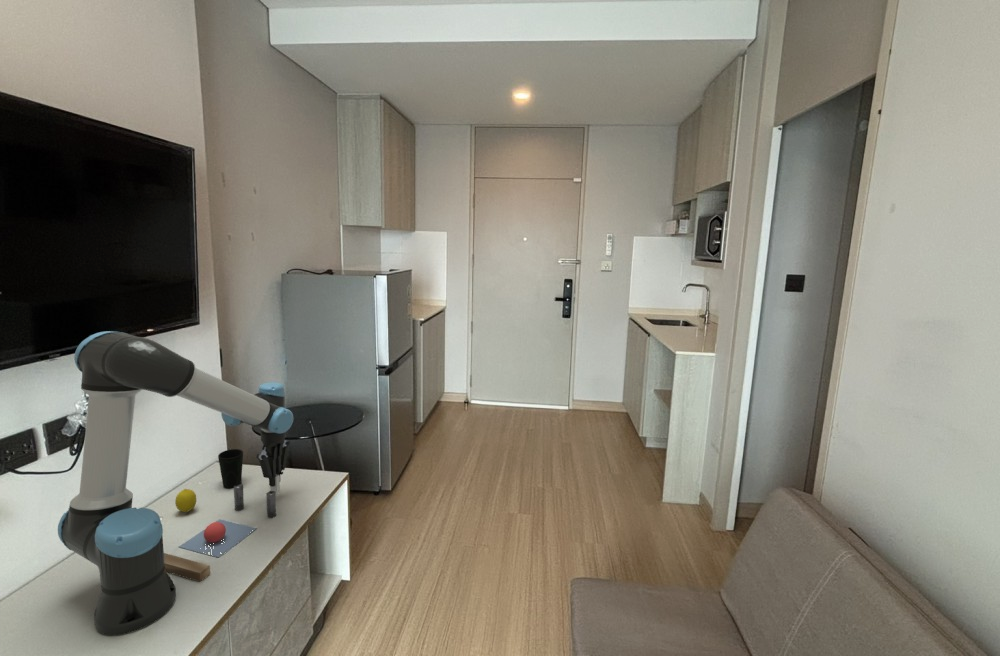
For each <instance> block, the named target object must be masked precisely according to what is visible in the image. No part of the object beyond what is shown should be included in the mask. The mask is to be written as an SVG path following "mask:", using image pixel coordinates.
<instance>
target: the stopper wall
mask: <svg viewBox="0 0 1000 656" xmlns="http://www.w3.org/2000/svg"><path fill="white" fill-rule="evenodd" d="M164 563H165V570H166V572H167V573H168V572H169V573H168V574H172V573H173V574H172V575H176V576H179V575H180V577H183V576H184V578H186V577H187V578H186V579H190V578H191V579H190V580H193V579H194V581H197V582H200V581H201V582H202V581H203V580H204V579H206V578H207V577H208V576H209V575H211V565H210V564H206V563H202V562H198V561H195V560H192V559H187V558H185V557H181V556H180V557H179V556H176V555H173V554H170V553H165V552H164Z"/></svg>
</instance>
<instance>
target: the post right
mask: <svg viewBox="0 0 1000 656" xmlns="http://www.w3.org/2000/svg"><path fill="white" fill-rule="evenodd" d="M276 496H277V495H276V494H275V491H270V490H269V491H268V492H266V518H268V519H273V517H274V518H275V517H276V516H277V504H276V503H277V500H276V499H277V498H276Z"/></svg>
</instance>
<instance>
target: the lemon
mask: <svg viewBox="0 0 1000 656" xmlns="http://www.w3.org/2000/svg"><path fill="white" fill-rule="evenodd" d="M174 503H175V507H176V508H177V510H178V511H180V512H184V513H188V512H189V511H191V510H192V509H194V507H195V506H196V504H197V494H196V492H195V491H194V490H193V489H190V488H184V489H183V490H181V491H179V492H178V494H177V495H176V498H175V502H174Z"/></svg>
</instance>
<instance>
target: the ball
mask: <svg viewBox="0 0 1000 656" xmlns="http://www.w3.org/2000/svg"><path fill="white" fill-rule="evenodd" d="M204 530H205V531H204V538H205V540H206V541H208V542H211V543H214V542H217V541H219V540H221V539H222V538H223V537H224V535H225V532H226V528H225V526H224V524H222V523H220V522H217V521H214V522H211V523H209V524H208V525H207V526H206V527H205V529H204Z"/></svg>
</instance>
